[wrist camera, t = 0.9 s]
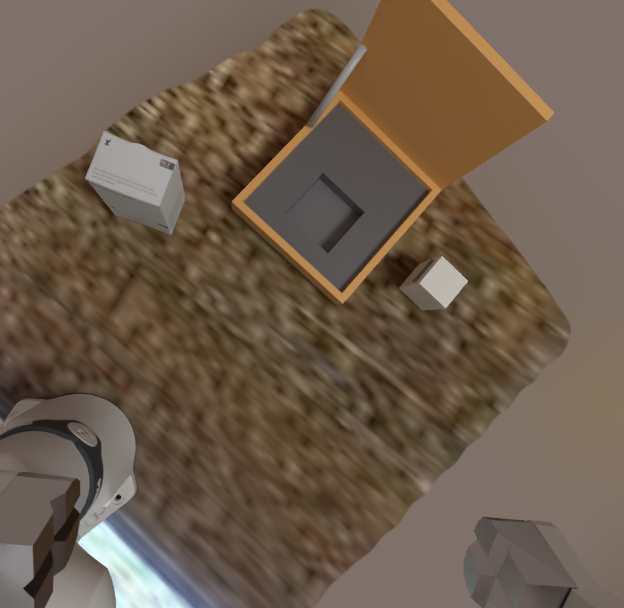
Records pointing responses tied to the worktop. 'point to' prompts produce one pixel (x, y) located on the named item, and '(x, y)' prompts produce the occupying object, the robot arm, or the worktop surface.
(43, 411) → the robot arm
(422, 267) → the plate
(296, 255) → the equipment case
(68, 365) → the worktop surface
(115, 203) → the skincare box
